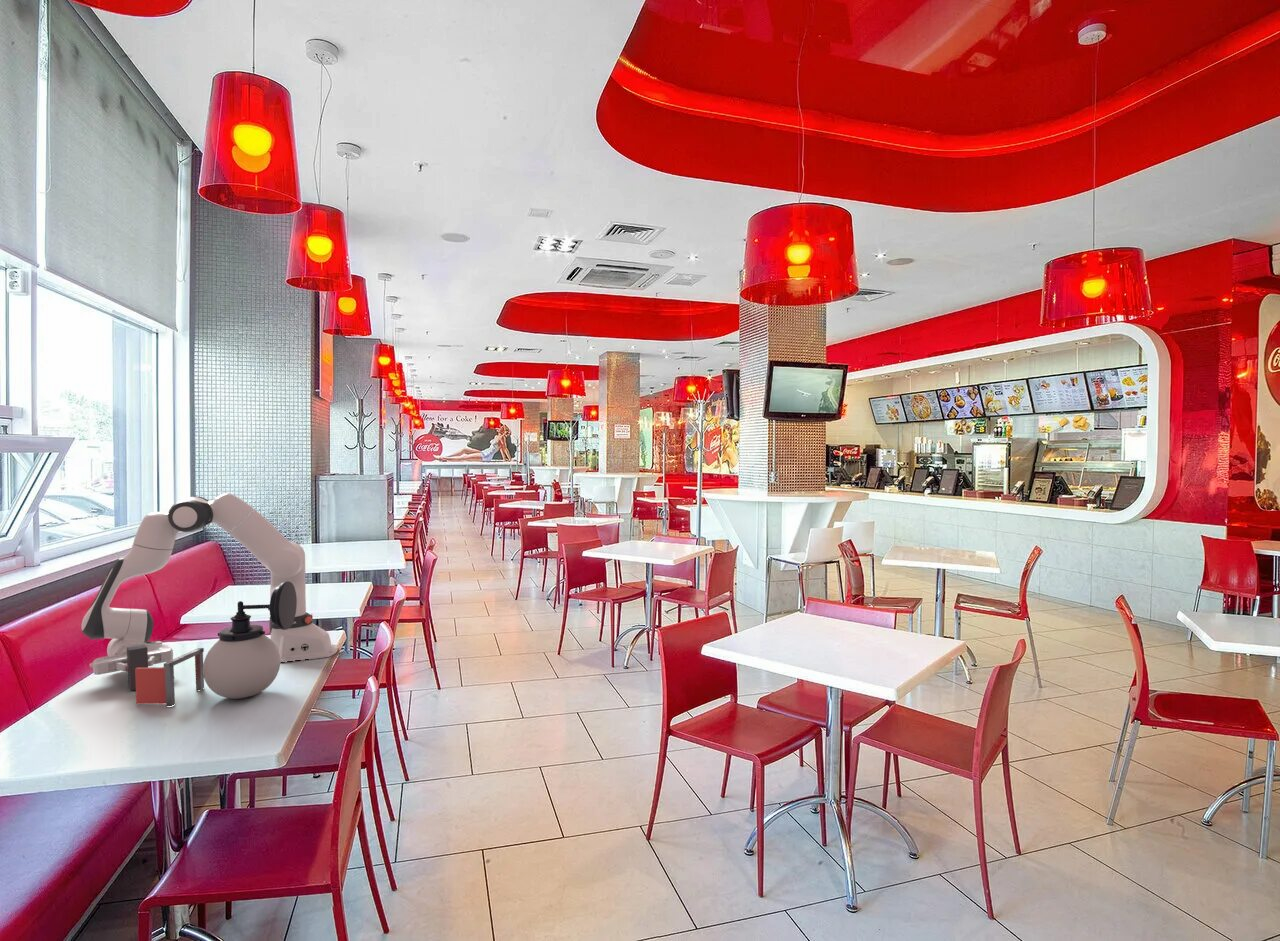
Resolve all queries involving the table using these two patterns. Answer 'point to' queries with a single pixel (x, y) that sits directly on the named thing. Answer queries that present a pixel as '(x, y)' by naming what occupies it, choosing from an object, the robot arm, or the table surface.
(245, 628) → the light fixture
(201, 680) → the frame
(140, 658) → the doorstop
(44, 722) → the table surface
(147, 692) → the red square panel
